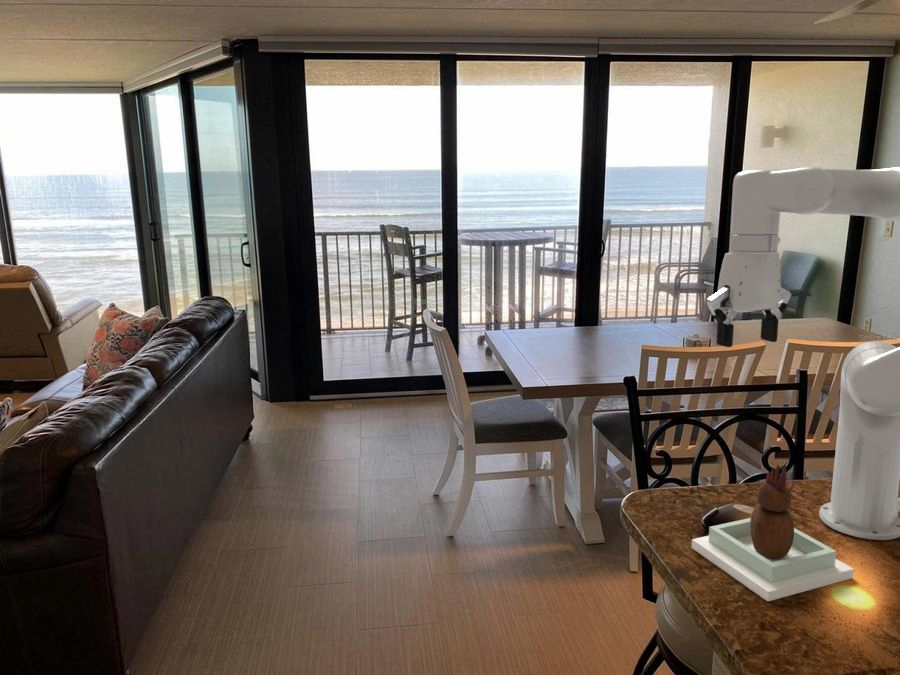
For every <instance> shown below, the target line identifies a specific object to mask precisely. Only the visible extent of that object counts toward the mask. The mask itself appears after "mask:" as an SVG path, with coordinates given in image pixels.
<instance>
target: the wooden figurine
mask: <svg viewBox="0 0 900 675" xmlns="http://www.w3.org/2000/svg"><path fill="white" fill-rule="evenodd" d="M780 471H781V470H780V465H778V464H777V465H776V468H775V469H774V468H773V469H771V471H768V472H767V474H766V478H765V481H764V482H763V483H762V484H760V486H759V488H758V490H757V502H758V505H756V506H755V507H754V508H753V510H752V512H751V516H750V518H751V522H750V530H751V538H752V542H753V546H754V548H755V550H756V551H757V552H758V553H759V554H760V555H762V556H764V557H766V558H770V559H781V558H782V557H784V556H786V555H787V554H788V552H789V550H790V548H791V546H792V543H793V539H794V528H795V523H794V519H793V516H792V514H791V512H790V511H789V510H788V509H789V508H790V507H791V504H792V494H791V490H790V489H789V487H788V486H787V466H786V465H784V466H783V467H782V471H781V472H780Z"/></svg>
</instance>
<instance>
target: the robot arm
mask: <svg viewBox="0 0 900 675" xmlns="http://www.w3.org/2000/svg"><path fill="white" fill-rule="evenodd" d="M731 197H732V198H731V214H730V227H729V228H730V229H729V230H730V232H729V248H728V252H726V253H724V257H723V259H722V262H721V263H722V264H721V268H720V272H719V278H718V285H717V292H715V293H714V294H712V295H711V296H709V297H708V298H706V304H707V307H708V309H709V313H710V315H711V317H712V318H713V319H714V322H716V323H717V325H716V326H717V328H716V345H718V346H722V347H726V348H731V347H733V341H734V340H733V339H734V326H735V325H734V324H732V321H733V320H734V319H735V317H736V316H737V314H738V313H750V312H751V313H752V312H762V313H763V315H764V316H762V317H761V325H760V339H761V340H763V341H767V342H771V343H776V342H778V332H779V320H781V319H782V318H783V314H784V312H785V311H786V310H787V307H788V305H787V304H789V301H790V299H791V297H792V292H790V291H789V290H787V289H785V288H783V286H782V284H781V282H782V281H781V280H782V277H781V275H782V274H781V273H782V272H781V261H780V253H779V252H778V246H779V244H781V238H780V237H779V234H780V233H779V230H780V220H781V219H780V217H781V213H785V214H786V213H789V214H796V215H807V216H809V215H814V214H823V215H824V214H825V215H847V216H858V217H859V216H861V217H871V218H877V219H881V220H886V221H890V222H891V221H892V222H900V166H896V167H890V168H889V167H888V168H880V169H879V168H878V169H841V168H840V169H835V168H832V169H831V168H821V167H818V166H804V167H799V168H794V169H792V168H791V169H786V170H774V169H761V170H760V169H755V170H743V171H740V172H737V173H736V174H735V175H734V177H733V183H732V196H731ZM841 366H842V367H841V374H840V393H839V394H840V398H839V400H840V401H839V412H838V422H837V423H838V424H837V432H836V443H835V455H834V462H833V471H832V472H833V474H832V475H833V476H832V483H831V492H830V502H827V503H824V504H823V505H821V506H820V508H819V512H818V513H819V514H818V515H819V518H820V520H821V521H822V522H823V523H824V524H825V525H826V526H828V527H829V528H831V529H833V530H834V531H837V532H839V533H842V534H844V535H845V534H846V535H848V536H850V537H851V536H852V537H855V538H860V539H864V540H872V541H874V540H875V541H890V540H895V539H898V538H900V517H899V512H900V497H898V496H899V486H900V346H898V347H897V346H896V345H893V344H891V343H888V342H885V341H879V340H878V341H874V340H873V341H865V342H864V343H860V344H858V345H856V346H855V347H854V348H852V350H850V351H849V352H848V354H847V355H846V357H845V358H844V360H843V364H842V365H841Z"/></svg>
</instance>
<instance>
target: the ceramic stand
mask: <svg viewBox="0 0 900 675" xmlns="http://www.w3.org/2000/svg"><path fill="white" fill-rule="evenodd" d="M750 522H751V517H748V518H744V519H739V520H735V521H729V522H726V523H721V524H717V525H712V526H709V527H708V529H709V530H708V535H706V536H700V537H696V538H691V549H692V550H694V551H695V552H697V553H698V554H700V556H702V557H704V558H705V559H707V560H708V561H709V562H711V563H712V564H713V565H715V566H716V567H718V568H719V569H721V570H722V571H724V572H725V573H727V574H728V575H729V576H730V577H732V578H733V579H735V580H736V581H738V582H739V583H740V584H742V585H744V586H745V587H746V588H748V589H749V590H750V591H752V592H754V593H755V594H756V595H758V596H759V597H760V598H762V599H763V600H765V601H767V602H770V601H771V602H772V601H775V600H779V599H782V598H785V597H789V596H793V595H796V594H800V593H803V592H806V591H807V592H808V591H811V590H816V589H818V588H822V587H825V586H829V585H833V584H836V583H840V582H841V583H842V582H845V581H847V580H848V581H849V580H851V579H854V575H855V574H854V572H855V568H854V567H852V566H849V565H848V564H846V563H845V562H842V561H840V560H839V559H837V558H836V557H837V550H835V549H833V548H831V547H830V546H828V545H826V544H825V543H822V542H820V541H819V540H817V539H815V538H814V537H812V536H810V535H808V534H806V533H805V532H803V531H800V530H799V529H797V528H796V527H794V539H793V543H792V546H791V548H790V550H789V552H788V554H787V555H786V556H784V557H782V558H781V559H770V558H766V557H764V556H762V555H760V554H759V553H758V552H757V551H756V550H755V548H754V546H753V542H752V538H751V530H750Z"/></svg>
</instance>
